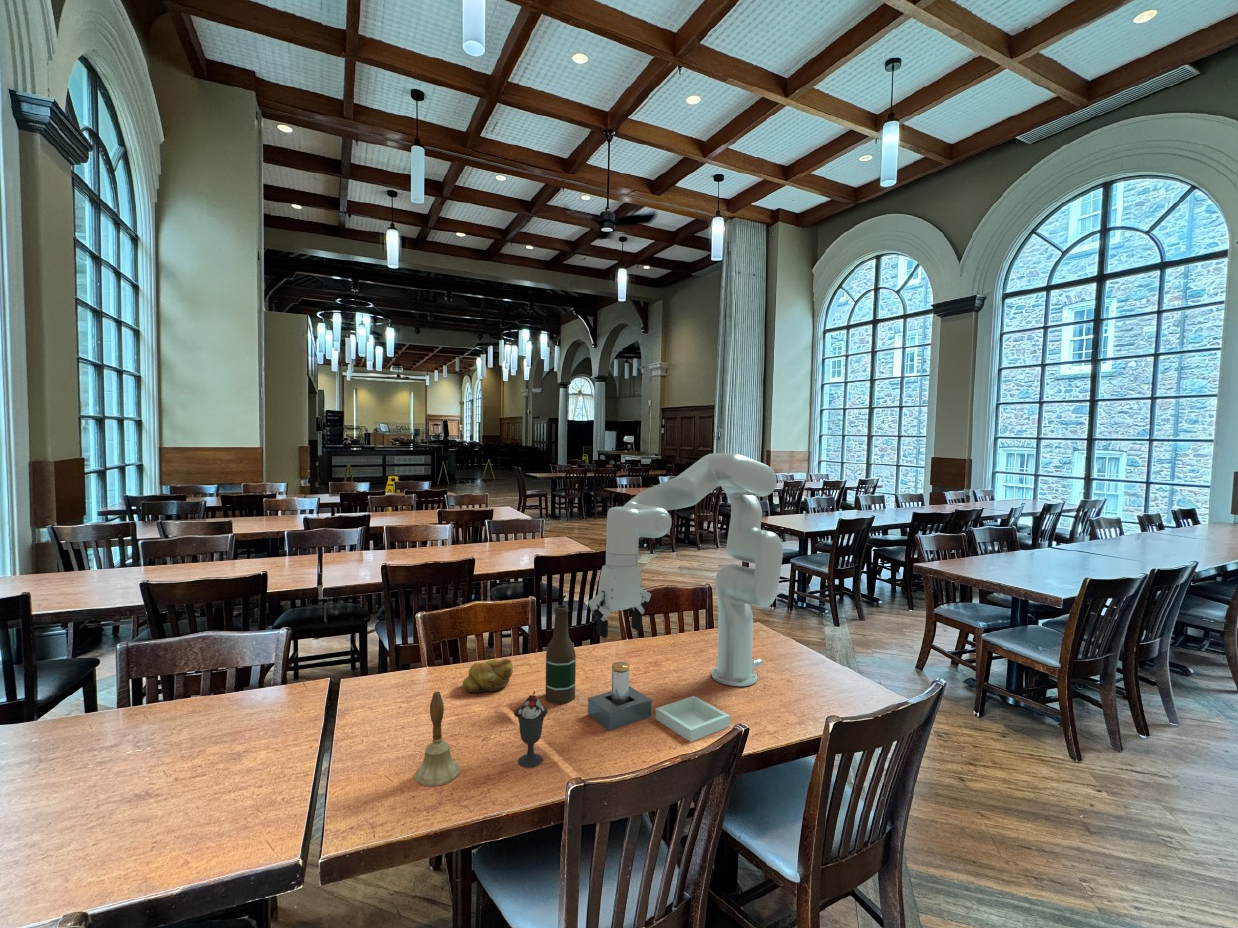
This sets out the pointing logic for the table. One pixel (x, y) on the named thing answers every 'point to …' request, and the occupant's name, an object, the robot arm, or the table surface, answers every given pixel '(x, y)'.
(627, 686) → the pin
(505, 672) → the bread roll
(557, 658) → the beer bottle
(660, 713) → the tray
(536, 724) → the sundae
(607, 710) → the block
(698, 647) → the table surface
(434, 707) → the hand bell
